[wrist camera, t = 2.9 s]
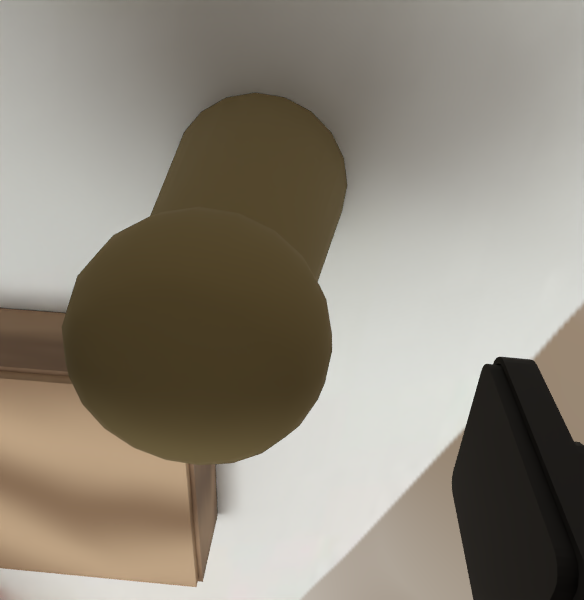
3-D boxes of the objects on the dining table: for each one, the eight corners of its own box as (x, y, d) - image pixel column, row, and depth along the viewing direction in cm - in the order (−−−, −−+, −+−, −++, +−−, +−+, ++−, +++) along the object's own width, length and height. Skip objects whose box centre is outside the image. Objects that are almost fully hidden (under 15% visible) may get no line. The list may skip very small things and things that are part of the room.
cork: (162, 92, 17) (-48, 234, 8) (350, 91, 17) (365, 241, 8) (184, 260, 20) (53, 504, 11) (344, 264, 20) (349, 520, 11)
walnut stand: (-78, 302, 22) (-153, 361, 19) (208, 324, 22) (184, 389, 18) (-7, 494, 29) (-54, 565, 25) (217, 515, 28) (200, 590, 25)
